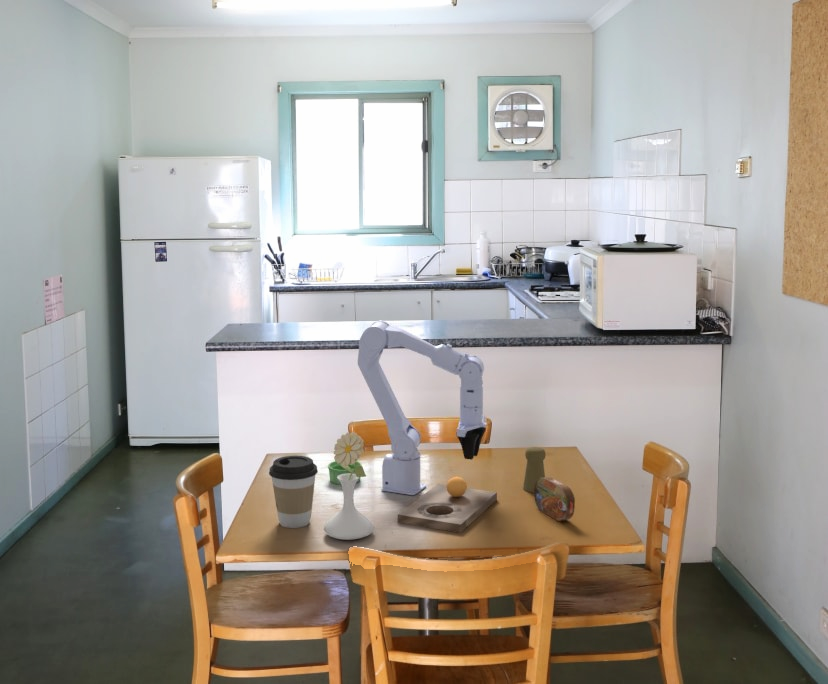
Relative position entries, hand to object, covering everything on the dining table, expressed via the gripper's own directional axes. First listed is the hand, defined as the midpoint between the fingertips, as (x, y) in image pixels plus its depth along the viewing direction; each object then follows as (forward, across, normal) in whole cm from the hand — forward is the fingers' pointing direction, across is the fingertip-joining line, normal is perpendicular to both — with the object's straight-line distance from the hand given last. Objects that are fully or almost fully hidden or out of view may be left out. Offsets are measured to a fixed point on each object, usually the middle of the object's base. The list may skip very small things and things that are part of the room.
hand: (470, 457), depth 252 cm
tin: (+10, -6, -24) cm, 27 cm away
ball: (+5, -10, 0) cm, 11 cm away
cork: (+10, +10, -14) cm, 19 cm away
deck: (+9, -14, 0) cm, 17 cm away
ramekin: (+10, -4, +34) cm, 36 cm away
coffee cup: (+10, -36, +30) cm, 48 cm away
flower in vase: (+10, -38, +14) cm, 42 cm away
